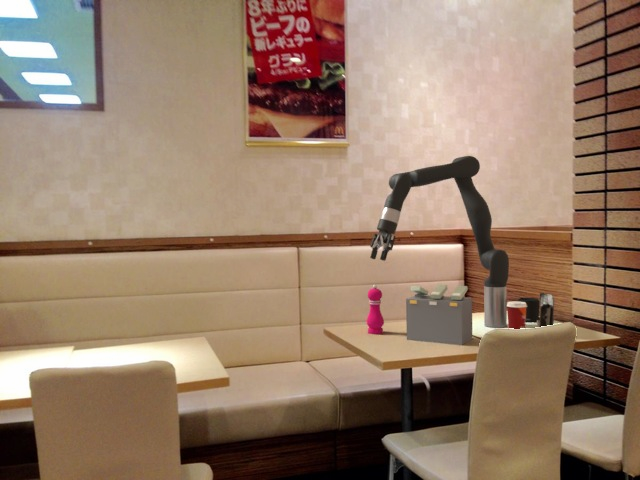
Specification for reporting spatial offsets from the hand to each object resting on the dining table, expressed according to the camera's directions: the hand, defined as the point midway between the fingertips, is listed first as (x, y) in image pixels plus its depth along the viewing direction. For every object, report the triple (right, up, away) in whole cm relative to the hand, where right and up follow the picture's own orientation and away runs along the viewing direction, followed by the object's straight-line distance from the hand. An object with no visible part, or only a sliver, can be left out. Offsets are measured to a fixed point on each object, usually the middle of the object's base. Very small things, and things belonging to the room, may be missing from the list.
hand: (377, 259), depth 230 cm
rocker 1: (+17, -12, -2) cm, 21 cm away
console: (+24, -31, -5) cm, 39 cm away
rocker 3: (+30, -12, -10) cm, 34 cm away
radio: (+69, -30, +4) cm, 76 cm away
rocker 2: (+23, -12, -6) cm, 27 cm away
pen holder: (+71, -29, +30) cm, 82 cm away
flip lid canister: (+53, -31, -6) cm, 62 cm away
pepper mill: (0, -31, +10) cm, 33 cm away
